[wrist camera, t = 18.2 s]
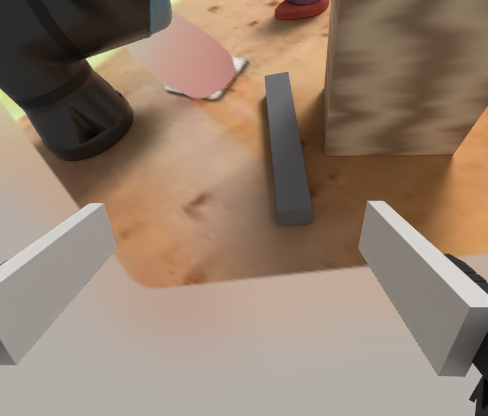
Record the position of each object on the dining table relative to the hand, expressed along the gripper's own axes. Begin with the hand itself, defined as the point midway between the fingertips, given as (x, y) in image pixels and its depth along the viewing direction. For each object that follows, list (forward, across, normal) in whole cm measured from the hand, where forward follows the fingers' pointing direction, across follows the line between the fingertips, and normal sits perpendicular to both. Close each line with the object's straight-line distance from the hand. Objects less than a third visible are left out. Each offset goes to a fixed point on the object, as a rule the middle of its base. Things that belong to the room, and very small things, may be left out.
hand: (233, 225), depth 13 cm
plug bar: (+24, +5, -1) cm, 24 cm away
